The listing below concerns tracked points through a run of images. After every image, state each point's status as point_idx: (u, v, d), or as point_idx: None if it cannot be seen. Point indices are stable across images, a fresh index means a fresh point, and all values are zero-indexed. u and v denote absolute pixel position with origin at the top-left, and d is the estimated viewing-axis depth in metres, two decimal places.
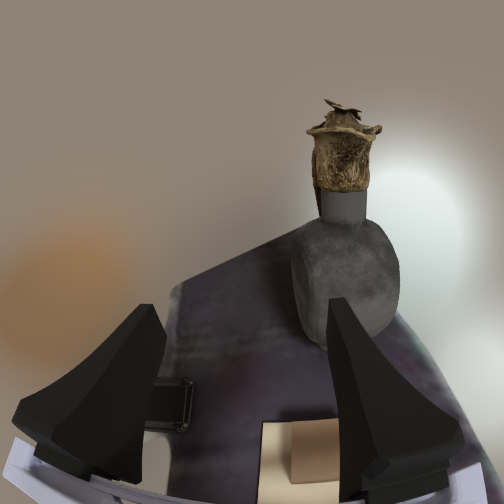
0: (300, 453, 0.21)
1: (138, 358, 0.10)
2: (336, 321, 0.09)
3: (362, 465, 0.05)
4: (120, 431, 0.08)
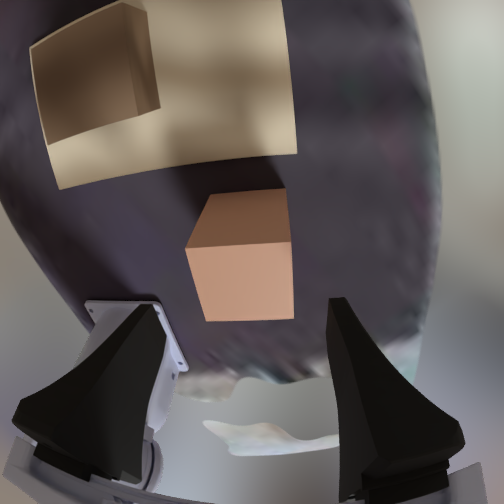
0: (47, 101, 0.11)
1: (138, 358, 0.10)
2: (336, 321, 0.09)
3: (362, 465, 0.05)
4: (120, 431, 0.08)
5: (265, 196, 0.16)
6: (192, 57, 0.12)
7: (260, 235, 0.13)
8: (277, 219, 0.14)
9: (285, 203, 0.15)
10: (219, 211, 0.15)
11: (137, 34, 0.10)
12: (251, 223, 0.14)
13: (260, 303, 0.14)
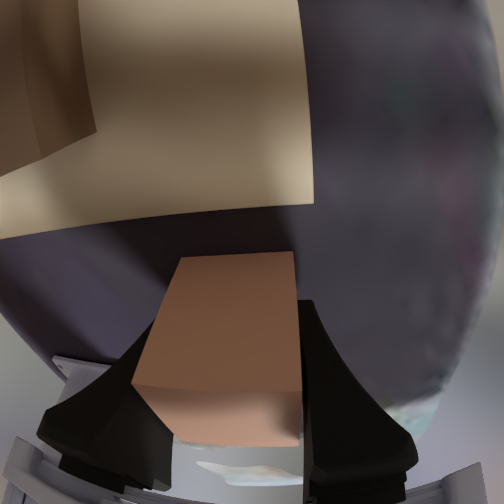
0: None
1: None
2: None
3: (309, 471, 0.05)
4: (152, 438, 0.08)
5: (262, 269, 0.11)
6: (139, 46, 0.07)
7: (250, 370, 0.07)
8: (279, 329, 0.08)
9: (293, 288, 0.09)
10: (189, 300, 0.10)
11: (50, 20, 0.05)
12: (237, 336, 0.08)
13: (252, 436, 0.08)
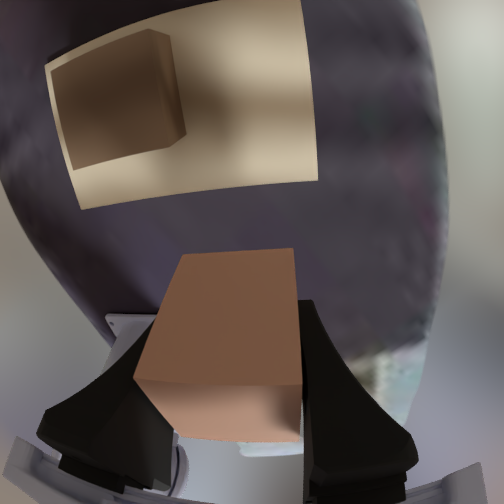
0: (71, 126, 0.12)
1: None
2: None
3: (309, 471, 0.05)
4: (152, 438, 0.08)
5: (262, 265, 0.11)
6: (217, 85, 0.13)
7: (251, 364, 0.07)
8: (280, 324, 0.08)
9: (293, 284, 0.10)
10: (190, 296, 0.10)
11: (163, 61, 0.11)
12: (238, 330, 0.08)
13: (253, 431, 0.09)
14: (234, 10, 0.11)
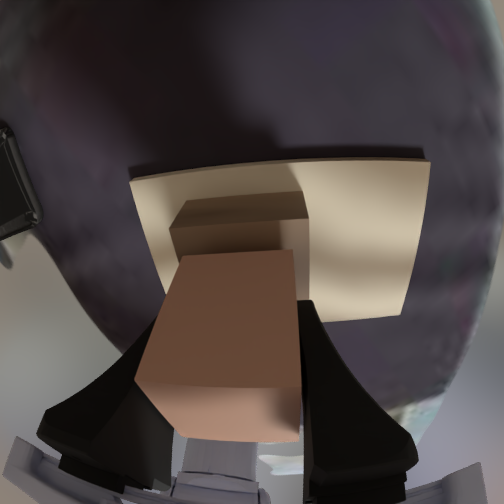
0: None
1: None
2: (298, 324, 0.09)
3: (309, 471, 0.05)
4: (152, 438, 0.08)
5: (262, 267, 0.11)
6: (342, 247, 0.16)
7: (251, 366, 0.07)
8: (279, 326, 0.08)
9: (293, 286, 0.10)
10: (190, 298, 0.10)
11: None
12: (238, 333, 0.08)
13: (253, 432, 0.09)
14: (372, 175, 0.13)
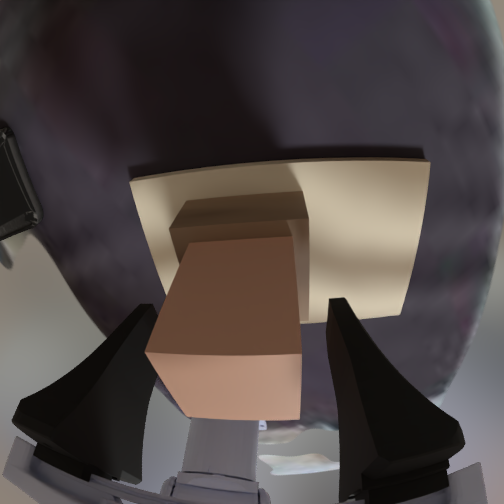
0: None
1: (138, 358, 0.10)
2: (336, 321, 0.09)
3: (362, 465, 0.05)
4: (120, 431, 0.08)
5: (264, 251, 0.12)
6: (342, 247, 0.16)
7: (255, 336, 0.08)
8: (280, 302, 0.09)
9: (292, 267, 0.10)
10: (197, 279, 0.11)
11: None
12: (242, 308, 0.09)
13: (255, 408, 0.09)
14: (372, 175, 0.13)
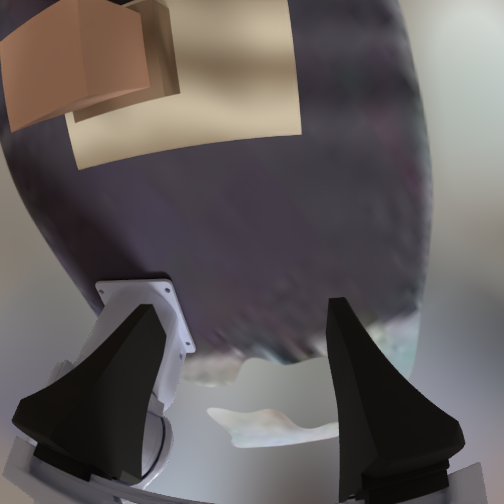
0: None
1: (138, 358, 0.10)
2: (336, 321, 0.09)
3: (362, 465, 0.05)
4: (120, 431, 0.08)
5: None
6: (210, 49, 0.14)
7: None
8: None
9: (120, 6, 0.08)
10: None
11: (163, 27, 0.12)
12: None
13: (51, 81, 0.07)
14: None
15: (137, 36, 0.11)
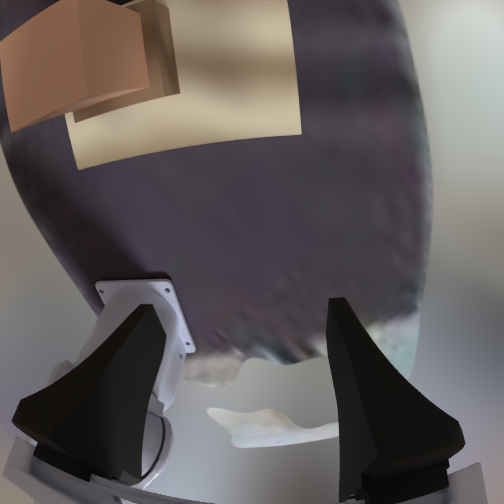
0: None
1: (138, 358, 0.10)
2: (336, 321, 0.09)
3: (362, 465, 0.05)
4: (120, 431, 0.08)
5: None
6: (209, 49, 0.14)
7: None
8: None
9: (120, 6, 0.08)
10: None
11: (162, 27, 0.12)
12: None
13: (51, 81, 0.07)
14: None
15: (137, 36, 0.11)
